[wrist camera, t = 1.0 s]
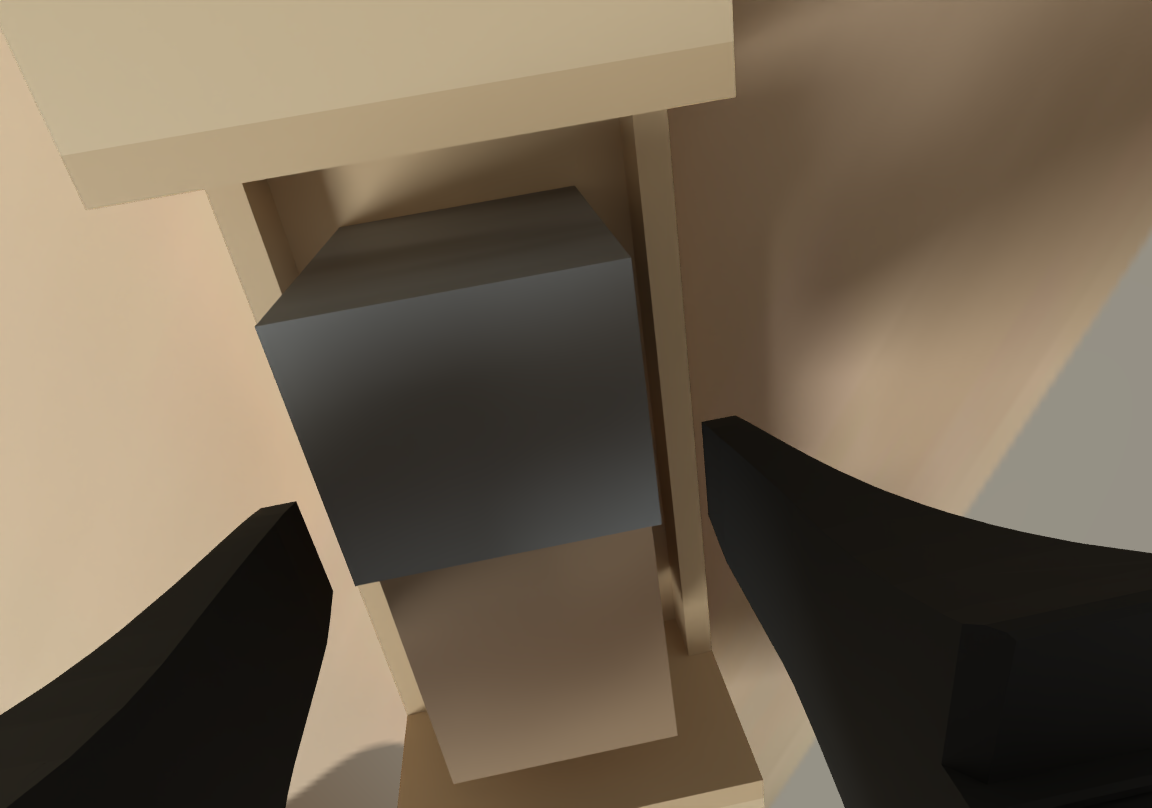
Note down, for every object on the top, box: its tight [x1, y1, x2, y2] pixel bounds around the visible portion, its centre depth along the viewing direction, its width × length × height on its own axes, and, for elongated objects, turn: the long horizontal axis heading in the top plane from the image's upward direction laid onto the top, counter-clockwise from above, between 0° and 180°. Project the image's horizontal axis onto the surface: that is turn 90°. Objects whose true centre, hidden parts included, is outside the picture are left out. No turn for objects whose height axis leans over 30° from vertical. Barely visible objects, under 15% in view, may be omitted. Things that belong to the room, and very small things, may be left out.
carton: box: [0, 0, 764, 808], centre depth 13 cm, size 20×8×5 cm, turn 9°
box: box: [255, 185, 678, 784], centre depth 13 cm, size 10×4×6 cm, turn 8°
